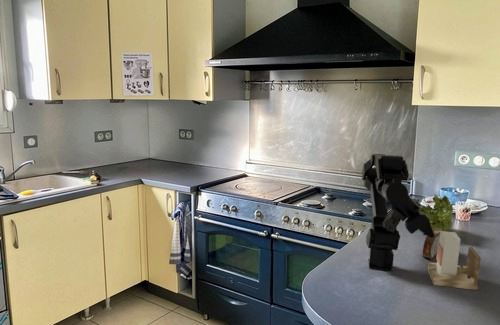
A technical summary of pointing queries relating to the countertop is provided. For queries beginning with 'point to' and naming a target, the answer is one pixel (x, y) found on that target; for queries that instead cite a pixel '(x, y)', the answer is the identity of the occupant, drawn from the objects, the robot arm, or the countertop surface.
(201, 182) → the countertop surface
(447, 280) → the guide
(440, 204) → the green leafy lettuce
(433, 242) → the tin
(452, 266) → the white milk carton
